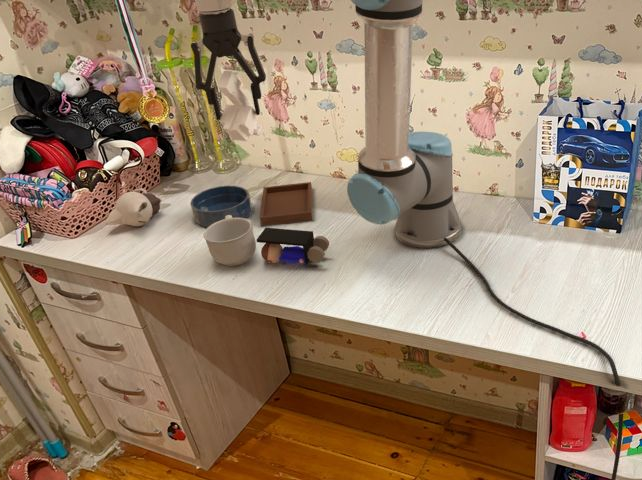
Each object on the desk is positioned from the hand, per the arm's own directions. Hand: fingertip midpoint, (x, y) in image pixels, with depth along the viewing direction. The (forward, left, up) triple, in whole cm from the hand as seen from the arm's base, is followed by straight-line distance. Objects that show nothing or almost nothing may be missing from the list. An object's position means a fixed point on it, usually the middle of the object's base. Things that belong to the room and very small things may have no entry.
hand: (238, 115), depth 163 cm
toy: (+1, +31, -25) cm, 40 cm away
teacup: (-22, +4, -25) cm, 33 cm away
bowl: (0, +9, -25) cm, 26 cm away
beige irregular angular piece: (0, 0, -6) cm, 6 cm away
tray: (0, -7, -25) cm, 26 cm away
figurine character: (-28, -10, -25) cm, 39 cm away
